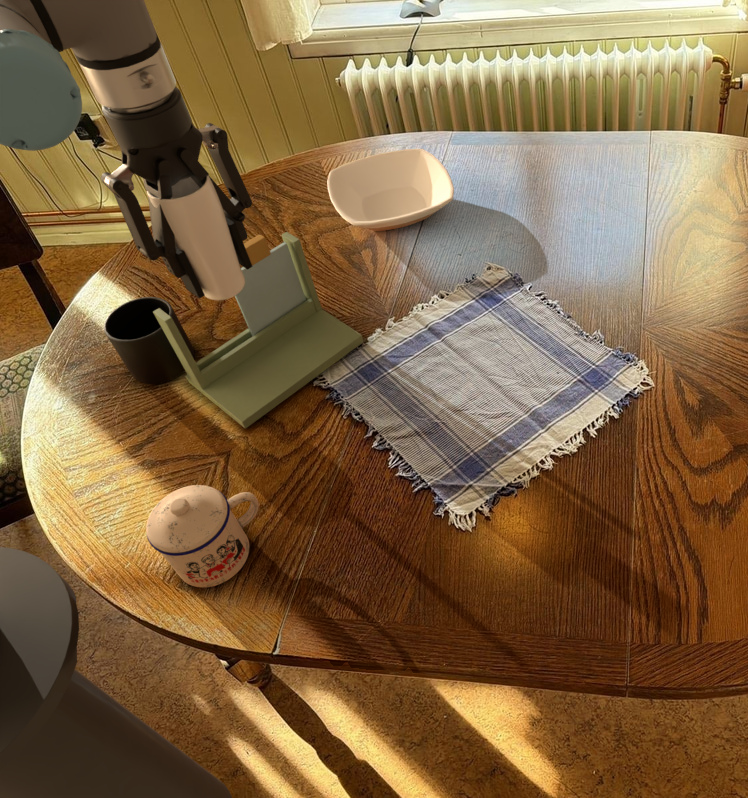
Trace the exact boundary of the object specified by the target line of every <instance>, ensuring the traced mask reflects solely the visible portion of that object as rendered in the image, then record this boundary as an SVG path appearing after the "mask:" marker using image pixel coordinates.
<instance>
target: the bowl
mask: <svg viewBox="0 0 748 798" xmlns="http://www.w3.org/2000/svg"><path fill="white" fill-rule="evenodd" d="M326 183H327V192H328V195H329V198H330V202H331V204H332V205H333V207H334V209H335V210H336V212H337V213H338V214H339V216H340V217H341V218H342V219H343V220H345V221H346V222H348V223H349V224H351V225H352V226H354V227H359V228H363V229H367V230H370V231H373V232H383V231H389V230H397V229H401V228H405V227H408V226H412V225H414V224H417V223H419V222H422V221H425V220H426V219H428V218H430V217H431V216H433V215H434V214H435V213H436V212H438V211H439V210H441V209H443V208H444V207H445V206H446V205H447V204H450V202H452V201H453V200H454V193H455V187H454V183H453V180H452V178H451V176H450V173H449V171H448V169H447V168H446V166H444V165H443V163H442V162H441V161H440V160H439V159H438V158H437V157H436V155H434V154H432V153H431V152H429V151H427V150H425V149H423V148H405V149H399V150H392V151H387V152H382V153H376V154H372V155H369V156H366V157H365V156H364V157H362V158H359V159H355V160H352V161H349V162H346V163H344V164H341V165H339V166H337V167H336V168H333V169H331V170H330V171H329V173H328V177H327V181H326Z"/></svg>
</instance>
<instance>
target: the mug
mask: <svg viewBox="0 0 748 798" xmlns="http://www.w3.org/2000/svg"><path fill="white" fill-rule="evenodd" d="M158 308H160V309H161V310H163V311H164V312H165V313H166V314H168V315H169V316H170V317H172V319H173V321H174V323H175V325H176V327H177V328H178V330H179V332H180V334H181V336H182V338H183V340H184V342H185V343H186V345H187V347H188V349H189V351H190V353H191V355H192V357H193V358H194V359H195V354H196V353H195V348H194V346H193V344H192V342H191V340H190V338H189V336H188V334H187V333H186V331H185V329H184V327H183V325H182V324H181V322H180V319H179V317H178V315H177V314H176V312H175V310H174V308H173V306H172V304H171V303H170V302H169V301H167V300H166V299H163V298H161V297H157V296H142V297H138V298H135V299H131V300H129V301H126V302H124V303H122V304H121V305H119V306H117V307H116V308H114V309H113V310H112V311H111V312H110V313H109V315H108V316H107V317H106V319H105V321H104V323H103V331H104V334H105V336H106V337H107V340H108V341H109V342H110V343H111V345H112V347H113V348H114V350H115V352H116V353H117V355H118V356H119V357H120V359H121V361H122V362H123V364H124V365H125V366H126V368H127V370H128V372H129V373H130V375H131V376H132V377H133V378H134V379H135V380H136V381H138V382H140V383H143V384H148V385H157V384H162V383H167V382H171V381H172V380H175V379H177V378H179V377H180V376H182V375H183V374H184V373H186V371H185V369H184V367H183V365H182V363H181V362H180V360H179V358H178V356H177V354H176V353H175V351H174V349H173V347H172V345H171V344H170V342H169V340H168V338H167V336H166V335H165V333H164V331H163V329H162V327H161V326H160V324H159V322H158V320H157V318H156V317H155V315H154V313H153V311H155V310H157V309H158Z"/></svg>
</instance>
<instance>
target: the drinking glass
mask: <svg viewBox="0 0 748 798" xmlns="http://www.w3.org/2000/svg"><path fill="white" fill-rule="evenodd" d="M209 176H210V174H209V175H208V176H207V179H206V182H205V184H204V185H203V186H202V187H201V188H200V187H199V186H198V185H197V184H196V183H195V181H194V180H193V179H192V178H191V177H189V178H186V179H181V180H180V181H178V182H177V183H176V184H175V185H173V186H172V197H171V199H161V200H160V199H159V198H156V197H154V196H152V195H151V194H150V193H149V192H148V191H146V194H147V198H148V197H149V199H150V201H151V203H152V204H153V206H154V207H156V208H157V207H158V206H159V205H161V208H162V210H163V213H164V215H165V217H166V219H167V221H168V223H169V225H170V227H171V229H172V231H173V233H174V236H175V245H176V248H178V249H180V250H183V251H184V252H185V254H186V256H187V258H188V261H189V263H190V265H191V267H192V269H193V271H194V273H195V275H196V277H197V280H198V282H199V284H200V286H201V288H202V290H203V292H204V294H205V296H204V297H205V298H207V299H208V300H211V301H226V300H229V299H232V298H235V296H236V295H237V294H239V293H240V292H241V291H242V289H243V288H244V285H245V277H244V275H243V272H242V270H241V268H242V266H241V265H240V264H239V261H238V258H237V255H236V251H235V248H234V245H233V241H232V238H231V234H230V231H229V228H228V224H227V221H226V217H225V214H224V211H223V208H222V205H221V202H220V200H219V197H218V195H217V192H216V190H215V188H214V185H213V183H212V181H211V179H210V177H211V176H210V177H209Z"/></svg>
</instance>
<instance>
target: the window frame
mask: <svg viewBox="0 0 748 798" xmlns="http://www.w3.org/2000/svg"><path fill="white" fill-rule="evenodd" d="M281 238H282V241H283V242H285V243H287V245H288V248H289V251H290V254H291V257H292V260H293V263H294V266H295V269H296V272H297V275H298V278H299V281H300V284H301V287H302V289H303V292H304V295H305V298H306V301H305V302H304V303H302V304H301V305H299V306H298V307H296V308H295V309H293V310H292V311H290V312H289V313H287V314H286V315H284V316H283V317H281V318H280V319H278V320H277V321H275V322H274V323H272V324H271V325H269V326H268V327H266V328H265V329H263V330H262V331H260V332H259V333H257V334H256V335H254V336H253V337H252V335H251V332H250V330H249V328H248V327H247V328H246V329H245V330H243V331H242V332H240V333H239V334H237V335H235V336H234V337H233V338H231V339H230V340H228V341H227V342H225V343H224V344H222V345H221V346H219V347H217V348H216V349H215V350H213V351H211V352H210V353H208V354H207V355H205V356H204V357H202V358H200V359H199V360H198V361H196V360H195V357H194V358H193V357H192V355H191V353H190V351H189V349H188V347H187V345H186V343H185V342H184V340H183V338H182V336H181V334H180V332H179V330H178V328H177V327H176V325H175V323H174V321H173V319H172V317H170V316H169V315H168V314H166V313H165V312H164V311H163V310H161V309H160V308H158V309H157V310H155V311H153V313H154V315H155V317H156V318H157V320H158V322H159V324H160V326H161V327H162V329H163V331H164V333H165V335H166V336H167V338H168V340H169V342H170V344H171V345H172V347H173V349H174V351H175V353H176V354H177V356H178V358H179V360H180V362H181V363H182V365H183V367H184V369H185V373H186V375H185V378H186V381H188V383H189V384H190V385H191V386H192V387H194V388H195V389H196V390H197V391H198V392H200V393H201V394H202V395H203V396H205V398H207V399H209V401H210V402H212V403H213V404H214V405H215V406H217V407H218V408H219V409H221V410H222V411H223V412H224V413H225V414H227V415H228V416H229V417H230V418H231V419H232V420H234V421H235V422H236V423H237V424H239V425H240V426H241V427H242V428H244V429H247V428H248V427H250V426H251V425H253V424H254V423H255V422H257V421H258V420H260V419H261V418H262V417H264V416H265V415H267V413H269V412H271V411H272V410H273V409H275V408H276V407H278V406H279V405H280V404H281V403H283V402H284V401H286V400H287V399H288V398H290V397H291V396H293V395H294V394H295V393H296V392H298V391H299V390H300V389H302V388H303V387H305V386H306V385H308V384H309V383H310V382H311V381H313V380H314V379H315V378H317V377H318V376H320V375H321V374H322V373H323V372H325V371H326V370H328V369H329V368H330V367H331V366H333V365H335V364H336V363H337V362H338V361H340V360H341V359H343V358H345V356H347V355H348V354H349V353H351V352H352V351H353V350H355V349H356V348H358V347H359V346H360V345H362V344H363V343H364V338H363V335H362V334H361V333H360V332H358V331H356V330H355V329H353V328H352V327H351V326H349V325H347V324H345V322H343V321H342V320H340V319H338V318H337V317H336V316H334V315H332V314H330V313H328V312H327V311H326V310H324V309H323V308H322V304H321V302H320V298H319V296H318V293H317V289H316V286H315V283H314V280H313V278H312V274H311V271H310V268H309V266H308V262H307V259H306V256H305V252H304V249H303V246H302V243H301V240H300V238H298V237H297V236H295V235H293V234H291V233H290V232H288V231H286V232H284V233H282V234H281Z"/></svg>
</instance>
